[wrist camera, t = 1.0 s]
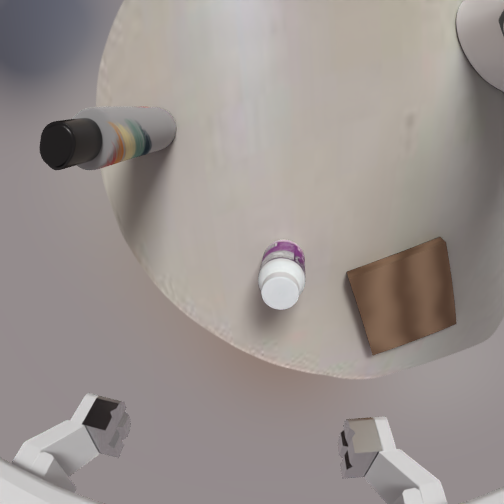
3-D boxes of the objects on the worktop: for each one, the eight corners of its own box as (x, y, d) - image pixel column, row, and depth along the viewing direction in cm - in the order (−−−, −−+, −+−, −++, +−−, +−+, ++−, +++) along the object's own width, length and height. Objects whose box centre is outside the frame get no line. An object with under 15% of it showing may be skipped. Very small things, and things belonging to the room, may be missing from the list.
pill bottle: (306, 274, 43) (307, 314, 34) (266, 276, 44) (258, 317, 35) (303, 236, 41) (304, 269, 32) (261, 239, 42) (251, 273, 33)
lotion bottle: (130, 120, 38) (20, 135, 19) (166, 99, 36) (63, 94, 18) (148, 158, 39) (45, 195, 21) (184, 138, 38) (91, 160, 20)
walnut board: (440, 236, 38) (445, 242, 36) (451, 316, 42) (456, 323, 41) (346, 271, 42) (348, 278, 40) (370, 346, 46) (372, 355, 44)
